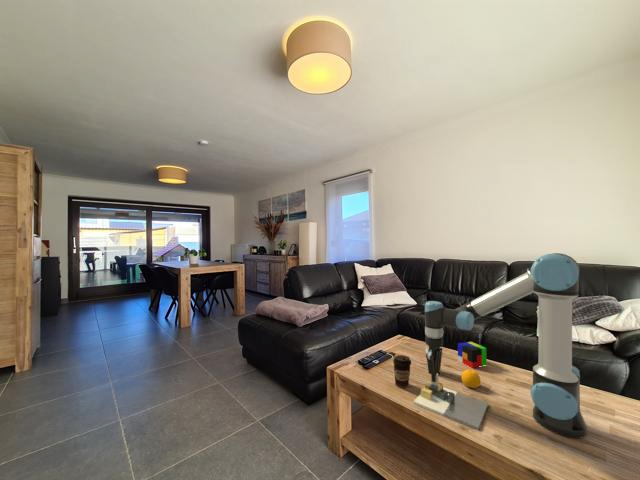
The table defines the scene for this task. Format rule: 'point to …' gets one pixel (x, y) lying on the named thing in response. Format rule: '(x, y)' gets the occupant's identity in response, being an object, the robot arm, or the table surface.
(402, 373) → the coffee cup
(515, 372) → the table surface
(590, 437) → the table surface
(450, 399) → the pivot post
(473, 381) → the orange
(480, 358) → the puzzle toy
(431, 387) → the swing bar
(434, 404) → the door board
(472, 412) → the plate
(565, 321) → the robot arm
